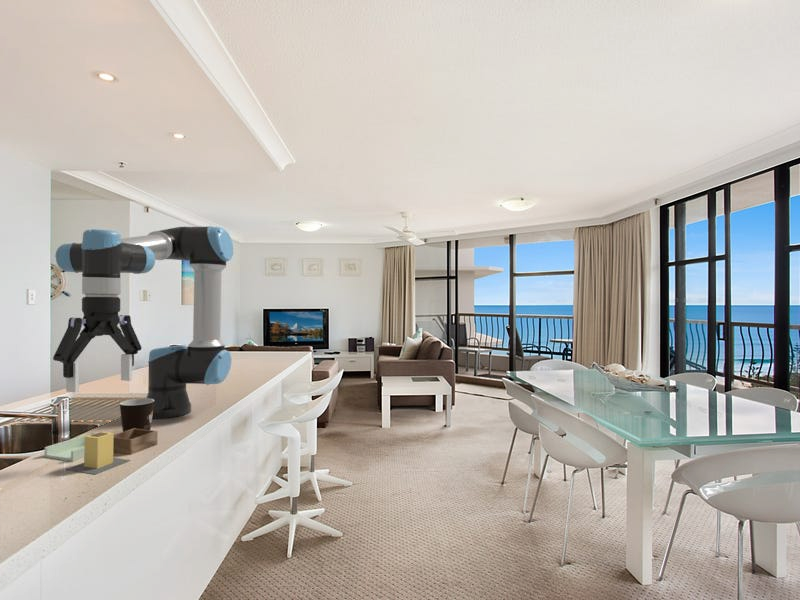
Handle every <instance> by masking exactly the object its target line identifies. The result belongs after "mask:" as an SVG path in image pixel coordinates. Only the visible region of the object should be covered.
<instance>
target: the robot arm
mask: <svg viewBox="0 0 800 600" xmlns="http://www.w3.org/2000/svg"><path fill="white" fill-rule="evenodd" d="M54 256H55V262H56V265H57V266H58V267H59V269H61V270H62V271H64V272H67V273H75V274H78V273H81V278H82V279H81V293H82V295H85V296H83V297H82V298H81V312H82V313H83V317H82V318H81V317H70V318H68V321H67V322H68V323H67V327H66V329H65V330H66V331H65V332H64V335H63V336H62V338H61V341H60V342H59V344H58V347H57V349H56V351H55V352H54V355H53V358H52V359H53V361H57V362H60V363H62V364H63V365H62V372H63V373H62V374H63V375H62V376H63V378H65V382H66V383H65V385H66V386H65V392H66V393H74V394H75V393H79V392H80V391H79V390H80V388H79V387H80V383H79V382H80V379H79V378H80V369H79V368H80V363H79V362H78V361H77V359H78V358H79V357H80V355H81V354H82V353H83V352H84V350H85V348H87V346H88V345H89V343H90V342H91V340H93V339H94V338H96V337H102V336H109V337H110V338H111V339H112V340H113V341H114V343H115V344H117V346H118V347H119V348H120V349H121V351H122V352H123V354H122V353H121V354H120V381H124V382H125V381H126V382H130V381H131V382H132V381H133V367H134V366H135V355H137V354H138V353H139V351H142V345H141V343H140V340H139V339H138V336H137V334H136V331H135V330H134V328H133V326H132V318H131V317H132V316H130V315H127V314H120V315H119V312H120V311H121V298H120V297H118V295H120V294H121V274H123V273H124V274H135V275H136V274H137V275H139V274H147V273H148V272H150V271H151V270H152V269H154V266H155V265H156V261H164V260H174V261H175V260H176V261H177V260H179V261H189V266H190V267H191V268H192V269H193V270H194V273H193V275H194V277H193V280H194V281H193V323H192V324H193V325H192V334H193V335H192V341H191V342H190V343H189V344H188V345H186V344H182V345H181V344H180V345H171V346H165V347H157V348H154V349H151V350H150V352H149V355H148V361H147V364H148V391H147V395H146V398H145V399H154V400H155V401H154V408H153V415H152V419H168V418H169V419H170V418H175V417H181V416H184V415H187V414H189V413H191V412H192V403H191V402H190V399H189V394H188V391H187V384H193V385H198V384H199V385H207V386H208V385H218V384H221V383H222V382H224V381H225V380H226V378H227V377H228V375H229V373H230V371H231V366H232V355H231V352H230V351H229V350H226V349H225V347H226V346H225V343H224V341H222V340H221V316H222V315H221V314H222V310H221V309H222V308H221V307H222V271H223V270H224V269H226V268H227V262H229V261H231V260H232V259H233V256H234V245H233V240H232V237H231V236H230V234H229V232H228V231H227V230H226V229H225V228H223V227H220V226H219V227H218V226H211V225H209V226H178V227H177V226H176V227H171V228H165V229H160V230H155V231H151V232H149V233H148V234H146V235H139V236H133V237H125V238H124V237H123V238H122V236H121V234H120V233H119V232H117V231H115V230H109V229H98V228H97V229H93V228H91V229H86V230H84V231H83V234H82V243H78V242H77V243H76V242H72V243H64V244H61V245H60V246H59V247H58V248H57V250H56V251H55V255H54ZM118 325H119V326H118ZM82 328H83V329H82ZM76 361H77V362H76Z"/></svg>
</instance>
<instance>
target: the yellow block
mask: <svg viewBox="0 0 800 600" xmlns="http://www.w3.org/2000/svg"><path fill="white" fill-rule="evenodd" d="M94 433H95V434H91V435H88V436H85V445H84V458H83V460H84V461H83V463H84V467H90V468H96V469H98V468H100V467H103V466H106V465H108V464H111V463H113V458H114V452H113V439H114V435H115V434H114V432H108V431H107V432H106V431H99V432H98V431H97V432H94Z"/></svg>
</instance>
